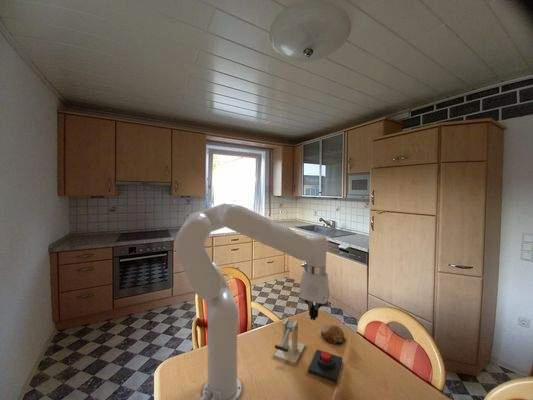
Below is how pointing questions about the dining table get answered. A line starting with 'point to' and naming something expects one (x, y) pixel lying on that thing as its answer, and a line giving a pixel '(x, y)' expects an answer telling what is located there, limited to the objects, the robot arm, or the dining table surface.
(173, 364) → the dining table surface
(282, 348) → the toaster lever
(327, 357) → the button
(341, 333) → the bread roll
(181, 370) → the dining table surface
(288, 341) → the toaster bracket
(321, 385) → the dining table surface
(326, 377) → the control block
